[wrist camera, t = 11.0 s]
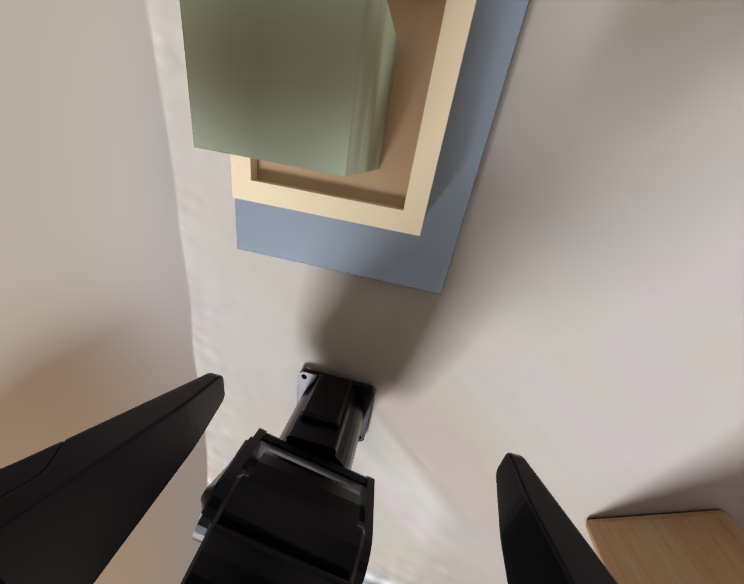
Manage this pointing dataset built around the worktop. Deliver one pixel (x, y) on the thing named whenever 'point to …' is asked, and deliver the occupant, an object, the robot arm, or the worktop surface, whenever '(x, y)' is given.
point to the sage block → (291, 80)
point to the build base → (445, 191)
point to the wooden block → (670, 548)
